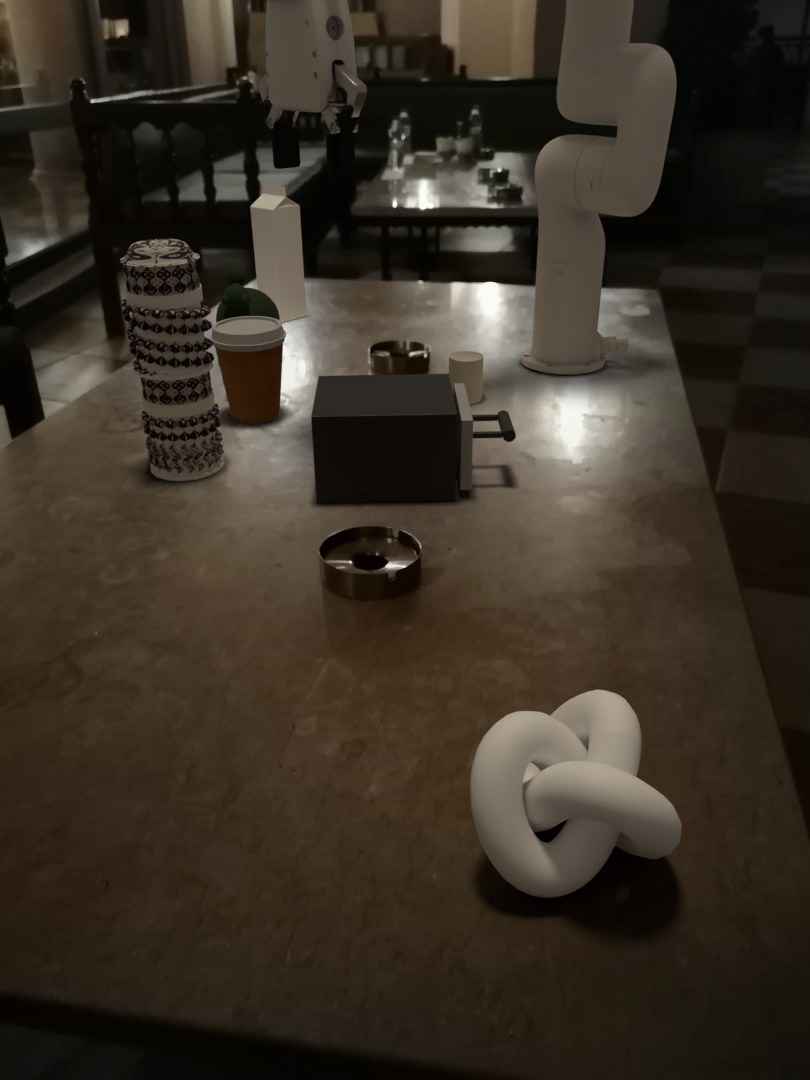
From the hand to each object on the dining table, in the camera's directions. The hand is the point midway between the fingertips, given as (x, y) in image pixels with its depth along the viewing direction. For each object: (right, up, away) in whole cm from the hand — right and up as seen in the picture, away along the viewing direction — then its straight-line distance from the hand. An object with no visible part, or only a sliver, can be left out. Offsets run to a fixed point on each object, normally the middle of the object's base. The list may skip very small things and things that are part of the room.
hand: (313, 171), depth 96 cm
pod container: (+18, -20, +28) cm, 39 cm away
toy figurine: (-13, -14, +39) cm, 43 cm away
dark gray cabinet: (+8, -32, +6) cm, 33 cm away
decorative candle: (-16, -31, +9) cm, 36 cm away
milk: (-12, +1, +66) cm, 67 cm away
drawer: (+12, -31, +5) cm, 34 cm away
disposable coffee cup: (-10, -23, +23) cm, 34 cm away
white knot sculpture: (+19, -58, -41) cm, 74 cm away
